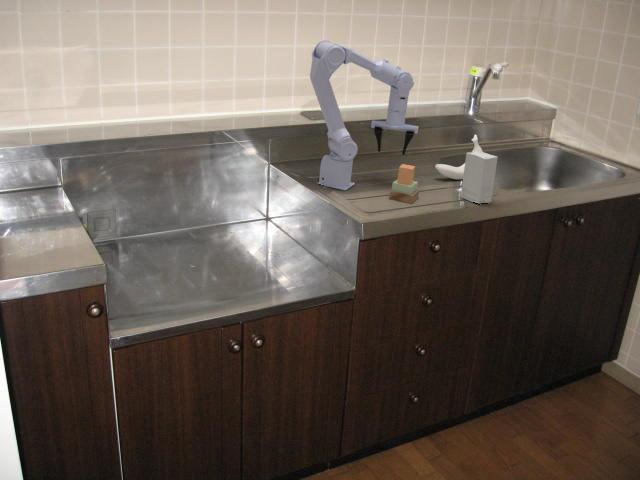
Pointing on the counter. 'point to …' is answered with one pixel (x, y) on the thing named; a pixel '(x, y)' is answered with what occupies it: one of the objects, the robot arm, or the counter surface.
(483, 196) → the skincare box
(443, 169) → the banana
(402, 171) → the terracotta block
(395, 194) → the walnut slab
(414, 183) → the sage block
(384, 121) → the robot arm
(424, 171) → the counter surface
